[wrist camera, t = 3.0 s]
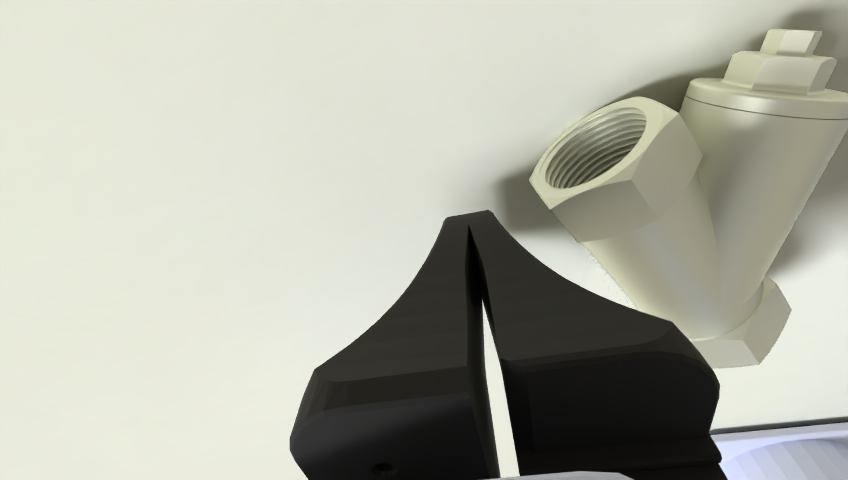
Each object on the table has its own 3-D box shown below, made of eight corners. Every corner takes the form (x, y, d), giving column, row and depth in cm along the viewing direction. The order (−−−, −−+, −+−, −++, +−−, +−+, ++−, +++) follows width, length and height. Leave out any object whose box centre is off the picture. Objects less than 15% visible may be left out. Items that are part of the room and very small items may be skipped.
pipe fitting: (732, -11, 10) (517, 165, 12) (895, -21, 7) (559, 224, 9) (824, 199, 13) (639, 310, 15) (966, 264, 10) (705, 394, 12)
